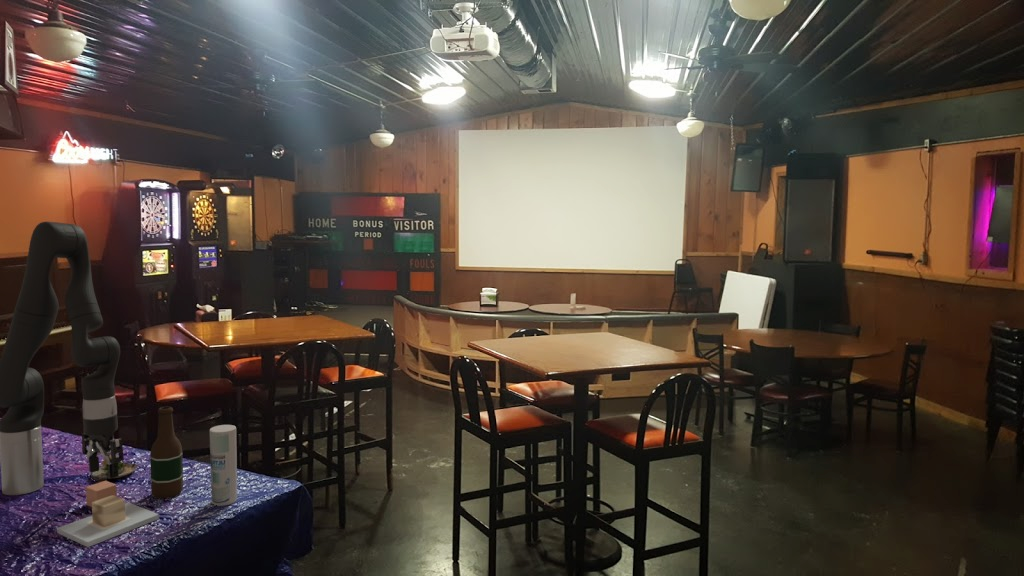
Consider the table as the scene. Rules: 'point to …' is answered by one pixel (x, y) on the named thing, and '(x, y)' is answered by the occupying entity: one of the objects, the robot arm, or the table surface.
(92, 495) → the terracotta block
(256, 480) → the table surface
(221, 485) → the spray can
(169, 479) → the beer bottle
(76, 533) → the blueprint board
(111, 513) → the maple block
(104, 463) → the burger
